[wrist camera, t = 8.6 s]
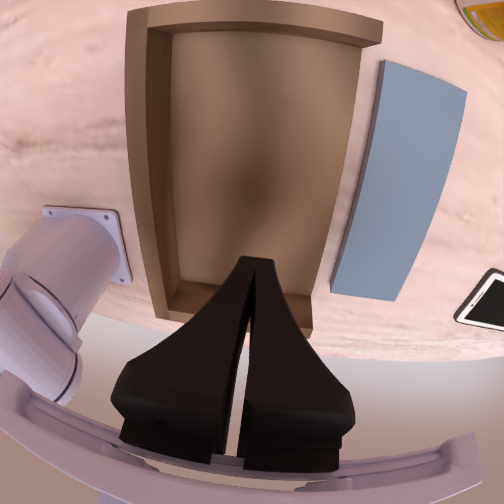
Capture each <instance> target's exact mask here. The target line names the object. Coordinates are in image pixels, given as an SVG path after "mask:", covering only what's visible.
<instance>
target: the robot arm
mask: <svg viewBox="0 0 504 504" xmlns="http://www.w3.org/2000/svg"><path fill="white" fill-rule="evenodd" d="M41 213H42V216H43V218H42V219H41V220H40V221H38V222H37V223H36V224H35V225H34V226H33V227H32V228H31V229H30V230H29V231H28V232H27V233H25V234H24V235H23V236H22V237H21V238H20V239H19V240H18V241H17V242H16V243H15V244H14V245H13V246H12V247H11V248H10V250H9V251H8V252H7V254H6V256H5V258H4V260H3V263H2V267H1V269H0V431H1V430H2V431H4V432H5V433H6V434H8V435H9V436H10V437H11V438H13V439H14V440H16V441H17V442H18V443H19V444H21V445H22V446H24V447H25V448H26V449H27V450H29V451H30V452H32V453H33V454H35V455H36V456H38V457H39V458H41V459H42V460H44V461H46V462H47V463H48V464H50V465H52V466H53V467H55V468H57V469H58V470H60V471H62V472H63V473H65V474H67V475H69V476H70V477H72V478H74V479H76V480H78V481H80V482H82V483H84V484H86V485H88V486H90V487H92V488H94V489H96V490H98V491H99V494H98V498H97V502H96V504H434V503H436V502H438V501H441V500H444V499H446V498H449V497H451V496H453V495H456V494H459V493H461V492H463V491H465V490H468V489H470V488H472V487H474V486H476V485H478V484H481V483H482V474H481V466H480V459H479V453H478V447H477V441H476V437H475V432H470V433H466V434H463V435H460V436H457V437H454V438H451V439H449V440H447V441H445V442H444V443H442V444H441V445H440V446H436V447H431V448H428V449H423V450H418V451H413V452H408V453H402V454H396V455H390V456H383V457H375V458H366V459H356V460H341V461H339V449H341V447H342V436H343V435H345V434H346V433H347V432H348V431H349V430H350V429H351V428H352V427H353V426H354V425H355V411H354V406H353V402H352V398H351V395H350V392H349V391H348V390H347V389H346V388H345V387H344V386H343V385H342V384H341V383H340V382H339V381H338V379H336V377H335V376H334V375H333V374H332V373H331V372H330V370H329V369H328V368H327V367H326V366H325V364H324V363H323V362H322V360H321V359H320V358H319V356H318V355H317V354H316V352H315V351H314V350H313V348H312V347H311V345H310V344H309V342H308V341H307V339H306V338H305V336H304V334H303V333H302V331H301V329H300V328H299V326H298V324H297V322H296V320H295V318H294V316H293V314H292V312H291V310H290V308H289V306H288V304H287V301H286V299H285V296H284V294H283V291H282V288H281V286H280V283H279V279H278V276H277V272H276V267H275V261H274V260H273V259H268V258H260V257H251V256H243V255H242V256H241V257H239V259H238V261H237V263H236V265H235V266H234V268H233V270H232V271H231V273H230V274H229V276H228V277H227V278H226V280H225V281H224V282H223V284H222V285H221V286H220V288H219V289H218V290H217V291H216V293H215V294H214V295H213V296H212V297H211V298H210V300H209V301H208V302H207V303H206V304H205V305H204V306H203V307H202V308H201V309H200V310H199V311H198V312H197V313H196V314H195V315H194V316H193V317H192V318H191V319H190V320H189V321H187V322H186V323H185V324H184V325H183V326H182V327H180V328H179V329H178V330H177V331H176V332H174V333H173V334H172V335H170V336H169V337H167V338H166V339H164V340H163V341H162V342H160V343H159V344H157V345H156V346H154V347H153V348H151V349H150V350H148V351H146V352H145V353H143V354H141V355H139V356H137V357H136V358H134V359H132V360H130V361H129V362H127V364H126V366H125V367H124V369H123V370H122V372H121V374H120V376H119V377H118V379H117V382H116V384H115V387H114V389H113V392H112V395H111V402H112V404H113V405H114V407H115V408H116V409H117V410H118V412H119V413H120V414H121V415H122V416H123V417H124V418H125V420H124V423H123V426H122V429H121V430H120V429H116V428H114V427H111V426H108V425H106V424H103V423H101V422H98V421H95V420H93V419H90V418H88V417H86V416H83V415H81V414H79V413H77V412H74V411H72V410H70V409H68V408H66V407H64V406H65V405H66V404H67V403H68V402H69V401H70V399H72V397H73V396H74V394H75V393H76V391H77V389H78V387H79V384H80V381H81V377H82V370H83V362H82V358H81V356H80V354H79V353H78V350H79V348H80V346H81V344H82V340H81V339H80V338H79V337H78V332H79V331H80V329H81V328H82V326H83V324H84V322H85V321H86V319H87V317H88V316H89V314H90V312H91V311H92V309H93V307H94V306H95V304H96V303H97V301H98V299H99V298H100V296H101V294H102V293H103V291H104V290H105V288H106V287H107V285H108V284H109V282H110V281H111V282H116V283H121V284H126V285H129V284H131V282H132V278H131V274H130V270H129V266H128V262H127V258H126V253H125V249H124V244H123V239H122V235H121V230H120V225H119V219H118V215H117V213H116V212H114V211H109V210H96V209H81V208H65V207H48V206H44V207H43V208H42V209H41ZM106 215H107V216H108V217H109V218H108V217H107V216H106ZM249 319H250V346H249V367H248V375H247V382H246V389H245V397H244V404H243V412H242V420H241V427H240V434H239V441H238V448H237V456H236V457H234V456H227V455H224V454H225V452H226V444H227V437H228V430H229V423H230V417H231V409H232V403H233V396H234V389H235V382H236V376H237V369H238V364H239V359H240V355H241V351H242V347H243V343H244V339H245V335H246V331H247V327H248V323H249ZM117 448H118V449H117ZM119 449H121V450H124V451H127V452H130V453H133V454H136V455H139V456H142V457H145V458H148V459H152V460H155V461H159V462H163V463H166V464H170V465H174V466H179V467H184V468H188V469H193V470H197V471H203V472H208V473H214V474H221V475H227V476H234V477H243V478H253V479H266V480H285V481H287V480H288V481H318V480H327V481H319V482H308V483H307V484H305V486H304V487H300V488H296V489H294V491H280V490H267V489H256V488H246V487H238V486H230V485H223V484H216V483H211V482H204V481H198V480H194V479H189V478H184V477H179V476H174V475H170V474H165V473H162V472H160V471H159V470H158V469H157V468H154V467H152V466H150V465H149V464H147V463H146V462H145V461H144V459H141V458H138V457H136V456H133V455H131V454H128V453H126V452H124V451H121V450H119Z"/></svg>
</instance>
